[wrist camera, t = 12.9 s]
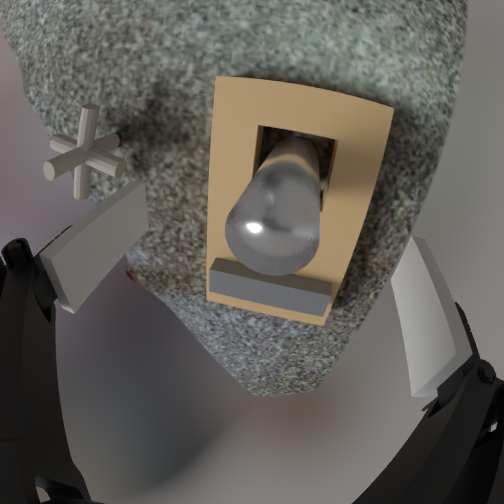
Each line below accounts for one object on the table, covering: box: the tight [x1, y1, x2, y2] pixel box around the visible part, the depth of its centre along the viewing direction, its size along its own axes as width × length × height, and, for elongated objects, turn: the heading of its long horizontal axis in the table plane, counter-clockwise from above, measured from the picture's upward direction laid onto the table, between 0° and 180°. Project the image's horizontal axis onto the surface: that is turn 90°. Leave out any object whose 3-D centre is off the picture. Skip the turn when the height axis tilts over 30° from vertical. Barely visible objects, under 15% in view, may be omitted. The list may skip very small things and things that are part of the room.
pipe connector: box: [43, 104, 126, 200], centre depth 22 cm, size 10×10×10 cm
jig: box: [207, 76, 394, 326], centre depth 25 cm, size 24×14×5 cm, turn 174°
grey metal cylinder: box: [225, 137, 320, 276], centre depth 18 cm, size 4×4×14 cm
